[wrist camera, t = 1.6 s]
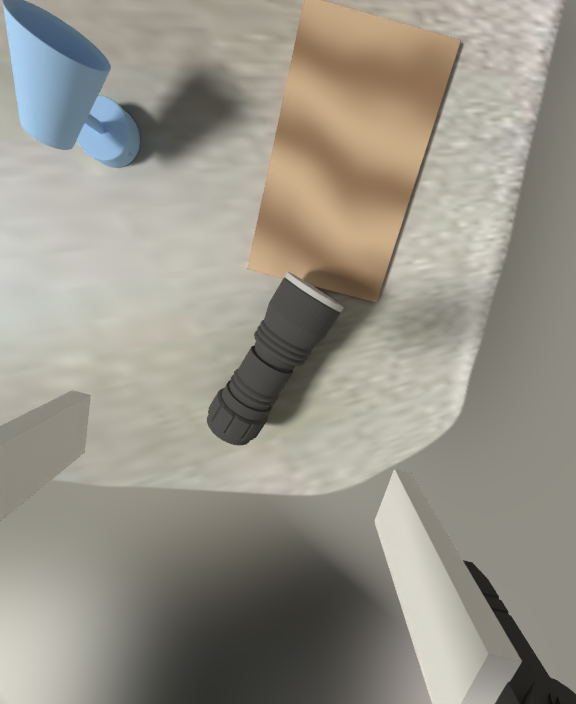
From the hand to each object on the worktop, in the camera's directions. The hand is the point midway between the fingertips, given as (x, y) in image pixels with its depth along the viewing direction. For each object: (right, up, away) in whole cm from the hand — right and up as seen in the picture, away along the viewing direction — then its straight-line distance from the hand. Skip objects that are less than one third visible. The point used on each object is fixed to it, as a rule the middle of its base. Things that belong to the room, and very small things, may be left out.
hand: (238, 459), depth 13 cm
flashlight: (+1, +5, +17) cm, 17 cm away
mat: (+7, +20, +13) cm, 25 cm away
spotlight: (-12, +23, +13) cm, 29 cm away
